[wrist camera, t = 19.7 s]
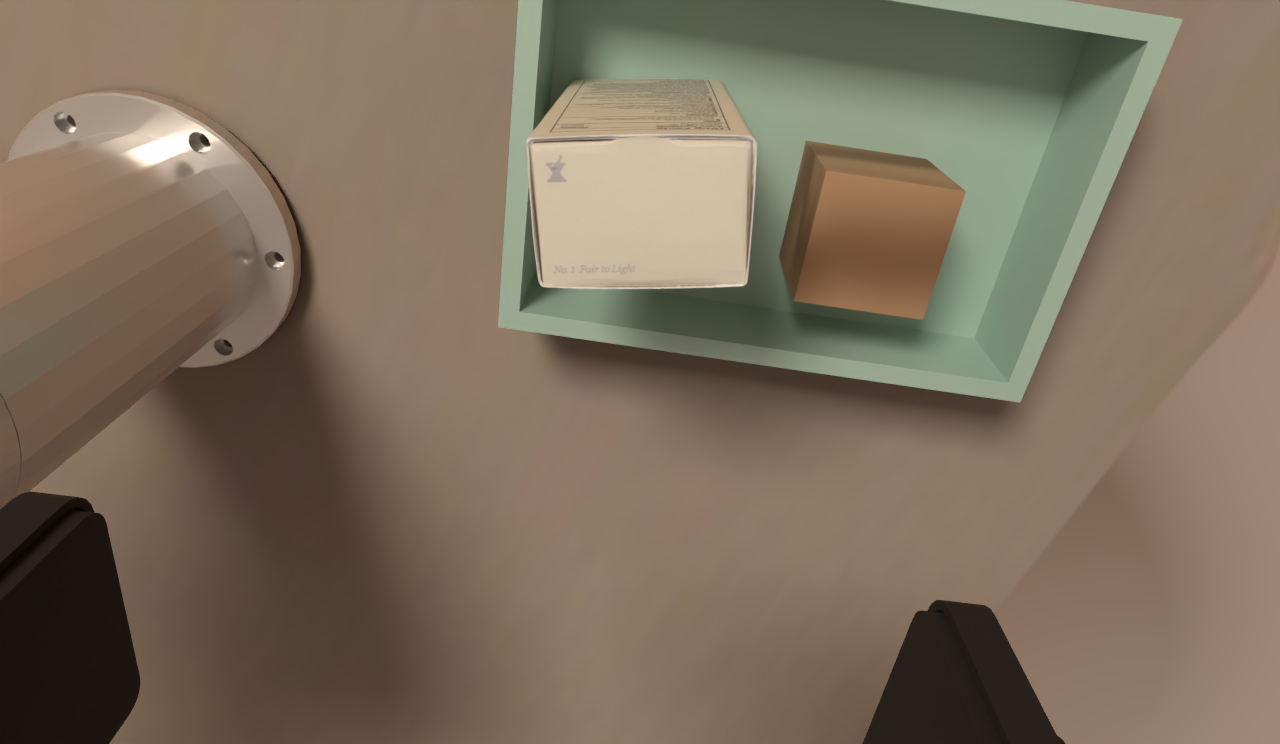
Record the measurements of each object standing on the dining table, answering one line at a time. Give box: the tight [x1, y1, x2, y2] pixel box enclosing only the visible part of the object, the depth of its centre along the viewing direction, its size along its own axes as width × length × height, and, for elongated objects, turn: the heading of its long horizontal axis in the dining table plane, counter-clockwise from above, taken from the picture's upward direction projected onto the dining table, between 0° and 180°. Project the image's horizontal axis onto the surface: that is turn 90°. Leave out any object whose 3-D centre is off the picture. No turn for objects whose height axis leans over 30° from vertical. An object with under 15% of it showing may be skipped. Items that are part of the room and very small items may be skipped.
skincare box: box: [526, 78, 758, 289], centre depth 27 cm, size 6×4×12 cm
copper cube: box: [779, 141, 966, 320], centre depth 31 cm, size 5×5×5 cm
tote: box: [498, 0, 1183, 402], centre depth 31 cm, size 22×15×5 cm
